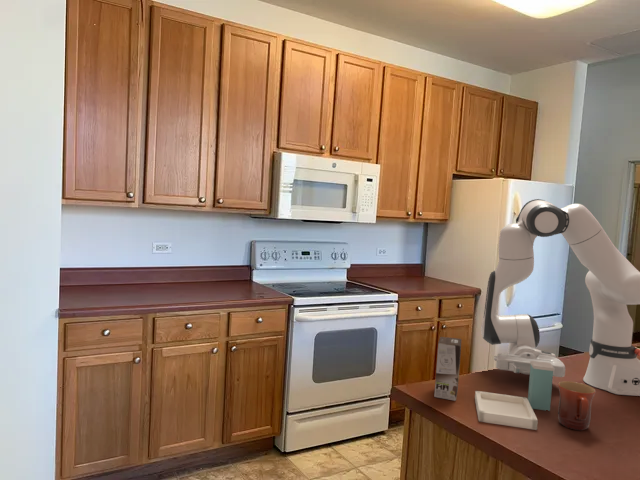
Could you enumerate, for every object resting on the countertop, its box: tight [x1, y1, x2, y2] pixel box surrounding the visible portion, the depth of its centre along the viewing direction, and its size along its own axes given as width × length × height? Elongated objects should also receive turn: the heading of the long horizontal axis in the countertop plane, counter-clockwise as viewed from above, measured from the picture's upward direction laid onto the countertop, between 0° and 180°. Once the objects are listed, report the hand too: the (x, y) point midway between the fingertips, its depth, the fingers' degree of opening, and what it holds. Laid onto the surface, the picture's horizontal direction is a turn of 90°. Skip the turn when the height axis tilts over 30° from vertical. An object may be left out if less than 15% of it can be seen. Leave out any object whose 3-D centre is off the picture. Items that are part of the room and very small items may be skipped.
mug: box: [557, 380, 597, 431], centre depth 125 cm, size 12×9×10 cm
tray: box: [474, 390, 539, 431], centre depth 132 cm, size 14×16×2 cm
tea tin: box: [527, 361, 554, 412], centre depth 139 cm, size 5×5×12 cm
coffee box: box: [433, 336, 462, 402], centre depth 144 cm, size 9×6×16 cm
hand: (533, 372), depth 149 cm, fingers open, 8 cm apart
